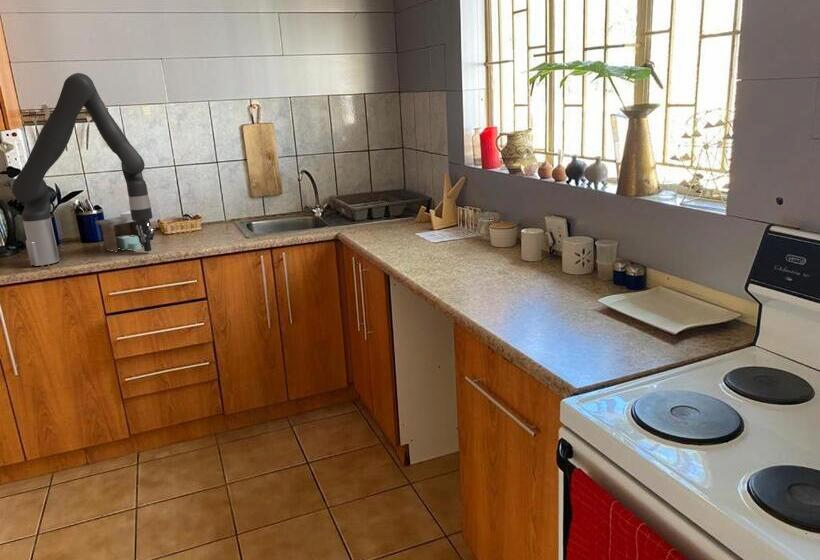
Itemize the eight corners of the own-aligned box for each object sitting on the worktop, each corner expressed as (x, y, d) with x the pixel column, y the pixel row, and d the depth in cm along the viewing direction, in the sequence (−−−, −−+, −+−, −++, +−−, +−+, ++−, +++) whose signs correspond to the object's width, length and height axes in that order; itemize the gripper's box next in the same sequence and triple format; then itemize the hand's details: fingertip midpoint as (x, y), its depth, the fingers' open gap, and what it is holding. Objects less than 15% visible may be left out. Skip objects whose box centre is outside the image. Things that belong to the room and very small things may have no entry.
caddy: (145, 249, 264) (143, 237, 263) (131, 252, 260) (128, 240, 259) (131, 246, 272) (129, 234, 271) (117, 249, 268) (115, 237, 267)
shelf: (111, 253, 260) (106, 223, 257) (100, 250, 267) (95, 221, 263) (150, 245, 271) (145, 216, 268) (138, 242, 278) (133, 214, 275)
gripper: (158, 206, 251) (165, 250, 256) (141, 204, 259) (148, 247, 264) (139, 210, 246) (147, 255, 250) (122, 207, 254) (130, 251, 259)
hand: (148, 250), depth 257 cm, fingers closed
